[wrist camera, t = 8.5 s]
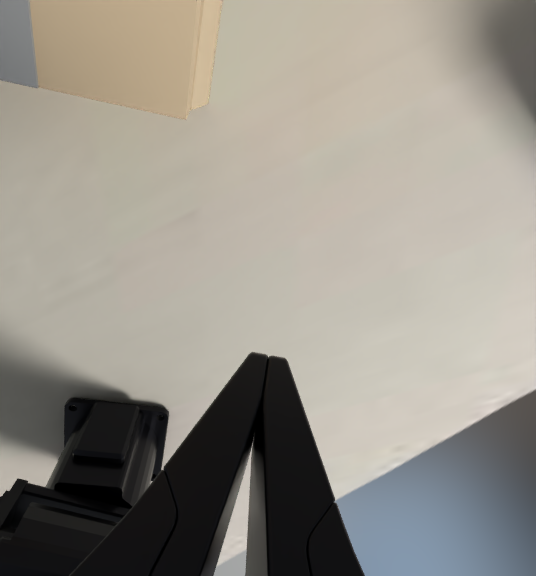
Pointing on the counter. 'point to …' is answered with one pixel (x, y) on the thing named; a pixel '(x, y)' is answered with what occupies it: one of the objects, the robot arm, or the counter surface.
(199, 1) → the carton lid
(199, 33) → the carton
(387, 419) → the counter surface
